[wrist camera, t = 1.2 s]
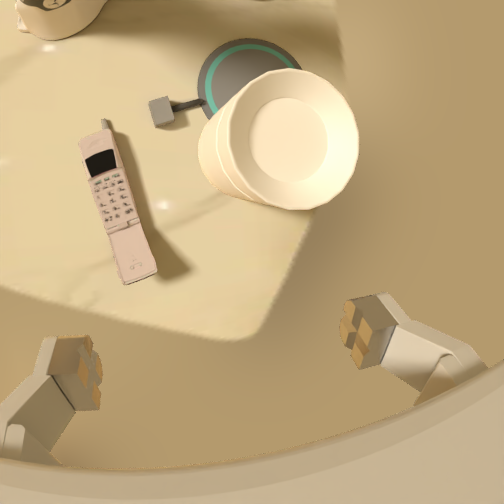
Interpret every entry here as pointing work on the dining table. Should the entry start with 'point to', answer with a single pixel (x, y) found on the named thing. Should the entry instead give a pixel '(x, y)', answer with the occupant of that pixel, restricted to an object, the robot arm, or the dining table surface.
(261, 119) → the canister
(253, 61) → the charging mat
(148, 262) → the mobile phone
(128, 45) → the dining table surface
